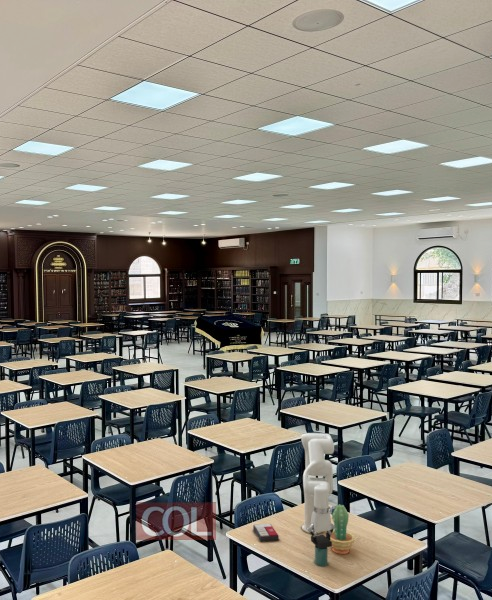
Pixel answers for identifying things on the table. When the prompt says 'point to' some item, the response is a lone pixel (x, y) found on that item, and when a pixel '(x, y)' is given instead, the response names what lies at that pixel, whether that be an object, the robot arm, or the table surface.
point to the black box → (322, 542)
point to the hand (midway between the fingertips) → (321, 542)
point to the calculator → (265, 532)
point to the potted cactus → (340, 530)
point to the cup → (321, 556)
